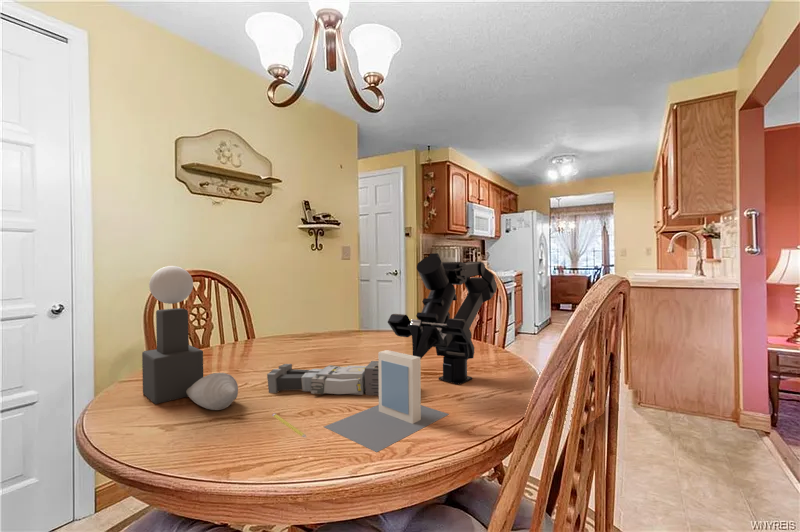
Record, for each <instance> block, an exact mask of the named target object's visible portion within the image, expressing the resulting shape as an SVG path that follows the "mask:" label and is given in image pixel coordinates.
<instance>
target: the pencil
mask: <svg viewBox="0 0 800 532" xmlns="http://www.w3.org/2000/svg"><path fill="white" fill-rule="evenodd" d="M271 416H272V417H273V418H275V419H277V420H278V421H279V422H280V423H282V424H283V425H285V426H286V427H288V428H289V429H291V430H292V431H293V432H294V433H295V434H297V435H299V436H300V437H301V438H304V439H305V438H306V439H307V435H306V434H305V433H304V432H303V431H301V430H300V429H298V428H297V427H296V426H294V425H293V424H291V423H289V422H288V421H286V420H285V419H284V418H282V417H281V416H280V415H278V414H277V413H272V414H271Z"/></svg>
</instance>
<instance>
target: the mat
mask: <svg viewBox="0 0 800 532" xmlns="http://www.w3.org/2000/svg"><path fill="white" fill-rule="evenodd" d="M448 415H450V414H449V413H447V412H444V411H441V410H439V409H434V408H431V407H428V406H426V405H422V404H421V420H419V421H417V422H415V423H413V424H412V423H409V422H407V421H404V420H401V419H399V418H396V417H393V416H390V415H388V414H385V413H382V412H380V411H379V404H377V405H374V406H372V407H370V408H366V409H364V410H362V411H359V412H357V413H354V414H352V415H349V416H347V417H344V418H342V419H340V420H337V421H335V422H332V423H329V424H327V425H324V426H323V428H324V429H326V430H329V431H331V432H333V433H336V434H338V435H340V436H341V437H343V438H346V439H348V440H350V441H352V442H354V443H356V444H358V445H361V446H363V447H364V448H366V449H369V450H371V451H373V452H375V453H379V452H380V451H383V450H384V449H385V448H388V447H390V446H392V445H393V444H396V443H397V442H399V441H401V440H403V439H405V438H407V437H409V436H411V435H413V434H414V433H417V432H418V431H420V430H422V429H424V428H426V427H428V426H431V424H433V423H436V422H437V421H439V420H441V419H443V418H445V417H447V416H448Z"/></svg>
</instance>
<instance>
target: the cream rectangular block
mask: <svg viewBox="0 0 800 532" xmlns="http://www.w3.org/2000/svg"><path fill="white" fill-rule="evenodd" d="M377 352H378V357H377V358H378V360H377V361H378V366H379V396H378V405H379V411H380V412H382V413H385V414H388V415H390V416H393V417H396V418H399V419H401V420H404V421H407V422H409V423H412V424H413V423H415V422H417V421H419V420H421V405H422V404H421V403H422V402H421V401H422V400H421V399H422V397H421V396H422V395H421V394H422V393H421V392H422V391H421V389H422V388H421V387H422V386H421V383H422V381H421V379H422V377H421V376H422V375H421V370H422V368H421V367H422V365H421V364H422V363H421V360H422V358H421V357H417V356H413V354H407V353H402V352H398V351H393V350H388V349H385V350H381V351H377Z"/></svg>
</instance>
